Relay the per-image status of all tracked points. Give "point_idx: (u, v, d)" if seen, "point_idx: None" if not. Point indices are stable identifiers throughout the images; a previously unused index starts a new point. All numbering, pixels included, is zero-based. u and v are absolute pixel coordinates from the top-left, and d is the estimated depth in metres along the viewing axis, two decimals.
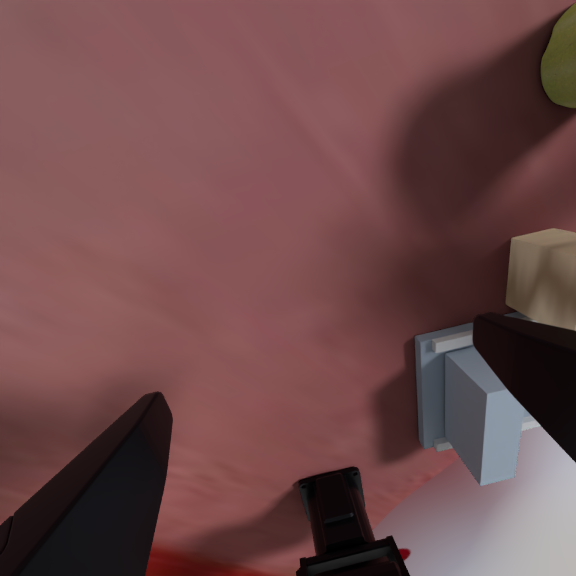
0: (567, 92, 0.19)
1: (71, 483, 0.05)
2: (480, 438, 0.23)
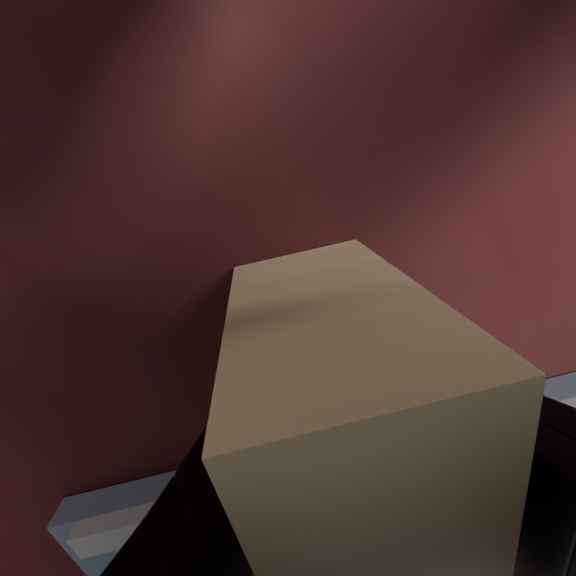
0: None
1: None
2: None
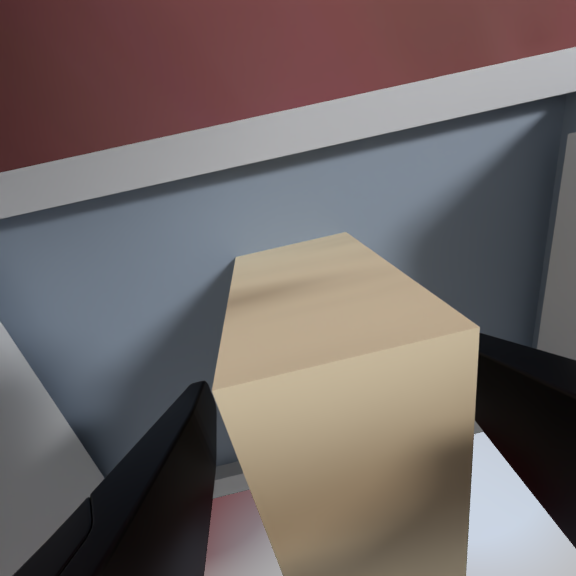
0: None
1: (141, 466, 0.05)
2: None
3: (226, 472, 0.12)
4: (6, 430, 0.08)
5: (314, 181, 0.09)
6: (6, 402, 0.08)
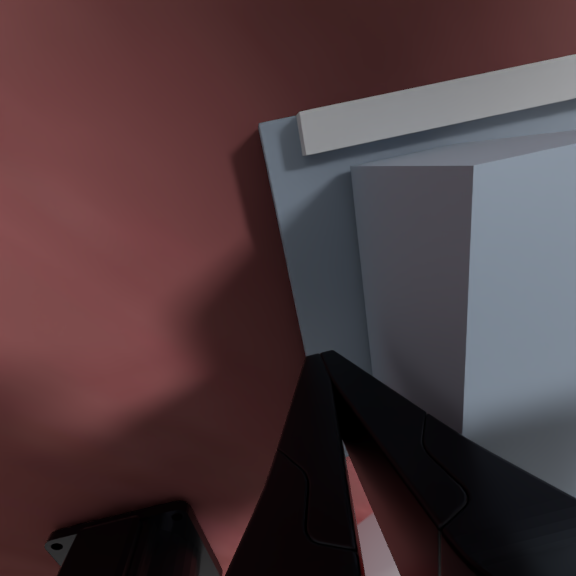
0: None
1: (315, 423, 0.05)
2: None
3: None
4: None
5: None
6: None
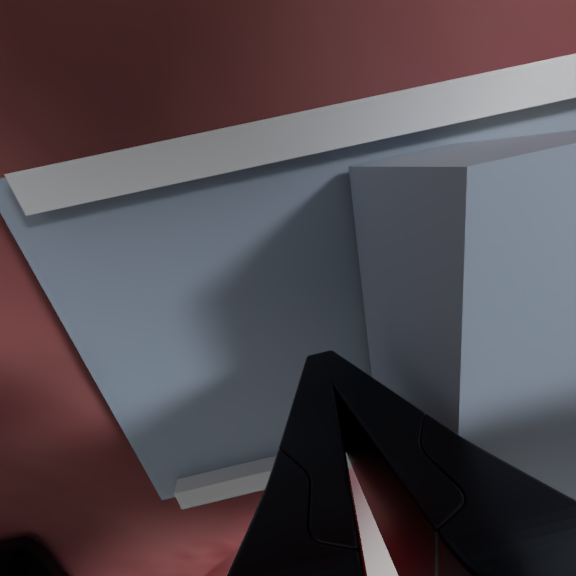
0: None
1: (317, 423, 0.05)
2: None
3: None
4: None
5: None
6: None
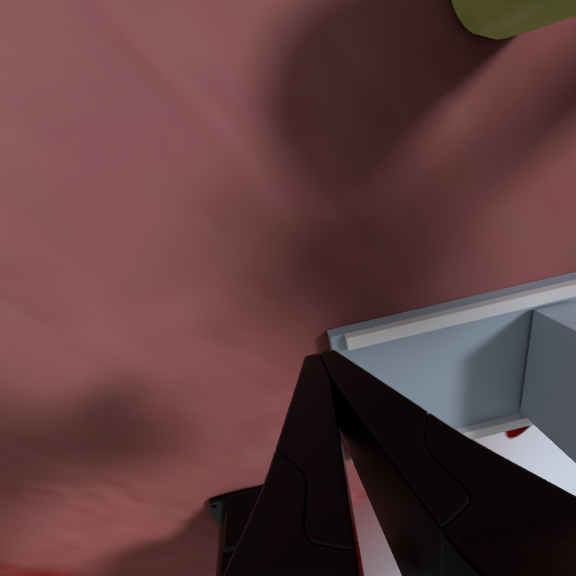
0: (477, 10, 0.14)
1: (314, 423, 0.05)
2: None
3: (460, 431, 0.26)
4: None
5: (531, 311, 0.22)
6: None
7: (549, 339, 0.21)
